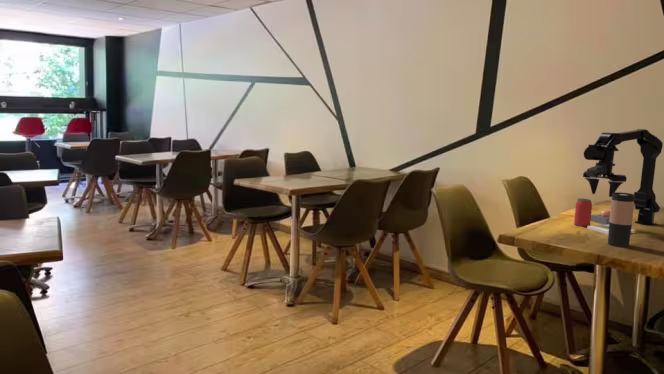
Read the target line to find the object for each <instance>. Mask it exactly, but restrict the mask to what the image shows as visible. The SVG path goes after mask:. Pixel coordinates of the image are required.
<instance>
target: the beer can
mask: <svg viewBox="0 0 664 374" xmlns="http://www.w3.org/2000/svg"><path fill="white" fill-rule="evenodd" d="M592 207H593V203H592V200H591V199H588V198H577V201H576V202H575V210H574V213H575V214H574V221H573V223H574V225H575V226H578V227H584V228H585V227H587V226H591V222H592V221H591V215H592V210H593V209H592Z"/></svg>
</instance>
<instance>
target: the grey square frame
mask: <svg viewBox="0 0 664 374" xmlns="http://www.w3.org/2000/svg"><path fill="white" fill-rule="evenodd" d="M609 220H610V217H603V216H601V213H595V214H591V221H590V222H593V223H599V224H600V225H609Z"/></svg>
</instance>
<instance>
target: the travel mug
mask: <svg viewBox="0 0 664 374" xmlns="http://www.w3.org/2000/svg"><path fill="white" fill-rule="evenodd" d="M634 198H635V195H634V193H629V192H618V191H617V192H616V191H615V193H613V194H612V197H611V201H610V202H611V203H610V210H609V211H610V220H609V234H607V244H608V245H610V246H613V247H617V248H618V247H619V248H628V247H629V245H630V240H631V234H632V233H631V229H632V226H633V218H634V207H635V204H634Z"/></svg>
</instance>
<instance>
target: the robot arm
mask: <svg viewBox="0 0 664 374" xmlns="http://www.w3.org/2000/svg"><path fill="white" fill-rule="evenodd" d="M634 140H636V143H637V144H638V145H639V147H640V149H639V150H640V151H639V152H640V154H641V156H642V158H643V159H642V160H643V161H642V166H641V167H642V168H641V176H640V185H639V188H638V190H637V191H634V192H633V194H634V195H635V198H634V207H635V210H638V215H637V220H635V221H634V223H637V224H641V225H646V226H649V225H657V222H654V221H655V213H659V212H660V210H661V207H660V205H659V204H658V203H657V200H656V199H657V198H656V194H655V192H654V189H653V188H654V187H653V186H654V178H655V171H656V165H657V164H656V163H657V162H656V161H657V158H658V157H659V155H660V154H661V153H662V149H663V146H664V145H663V141H662V140H661V139H659V137H657V136H656V135H654V134H653V133H651V132H650V131H649V130H648V129H644V128H643V129H642V128H638V129H634V130H628V131H623V132H622V131H621V132H602V133H600V135H599V137H598V138H597V139H596V140H595V142H594V143H593V144H588V146H587V147H585V149H584V151H583V157H584V159H585V160H587V161H598V162H595V166H591V167H589V168H587V169H586V170H584V172H583V173H582V177H583V178H584V179H585V180H586V181H588V183H589V186H590V191H591V194H592V195H596V191H597V189H598V185H599V181H600V179H606V180H607V179H608V180H609V181H607V182H608V185H609V191H608V192H609V193H608V197H609V198H612V194H613V193H616V191H617V190H618V189H619V187H621V185H622V184H624V183H626V182H627V176H626V175H625V174H615V173H614V172H613V167H615V166H616V163H614V157H615V152H619V149H618V148H617V146H618V145H620V144H621V143H624V142H628V141H634Z"/></svg>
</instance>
